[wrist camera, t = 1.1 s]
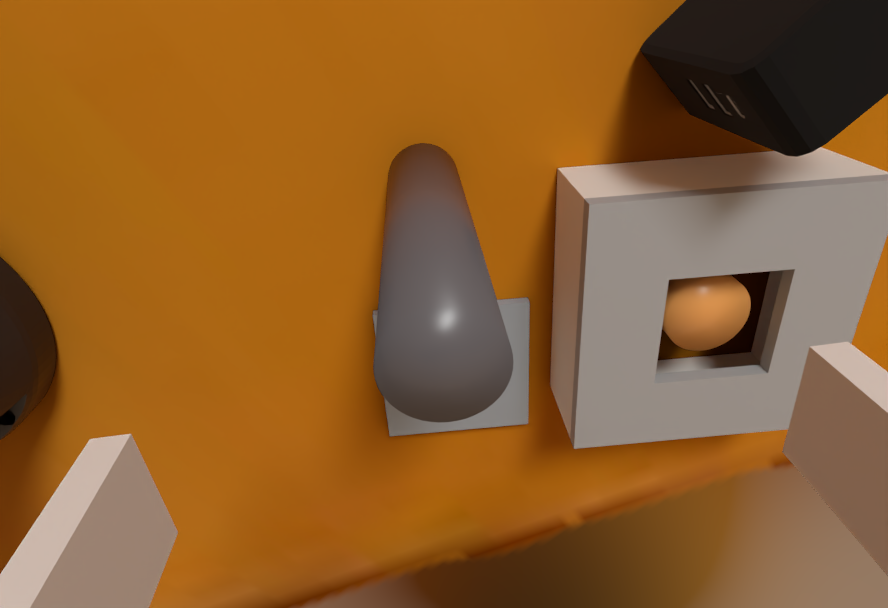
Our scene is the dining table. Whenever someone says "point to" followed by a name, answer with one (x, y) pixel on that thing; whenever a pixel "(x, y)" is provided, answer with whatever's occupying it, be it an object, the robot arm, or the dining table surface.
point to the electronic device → (775, 66)
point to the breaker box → (700, 255)
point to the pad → (513, 399)
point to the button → (705, 311)
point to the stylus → (436, 297)
